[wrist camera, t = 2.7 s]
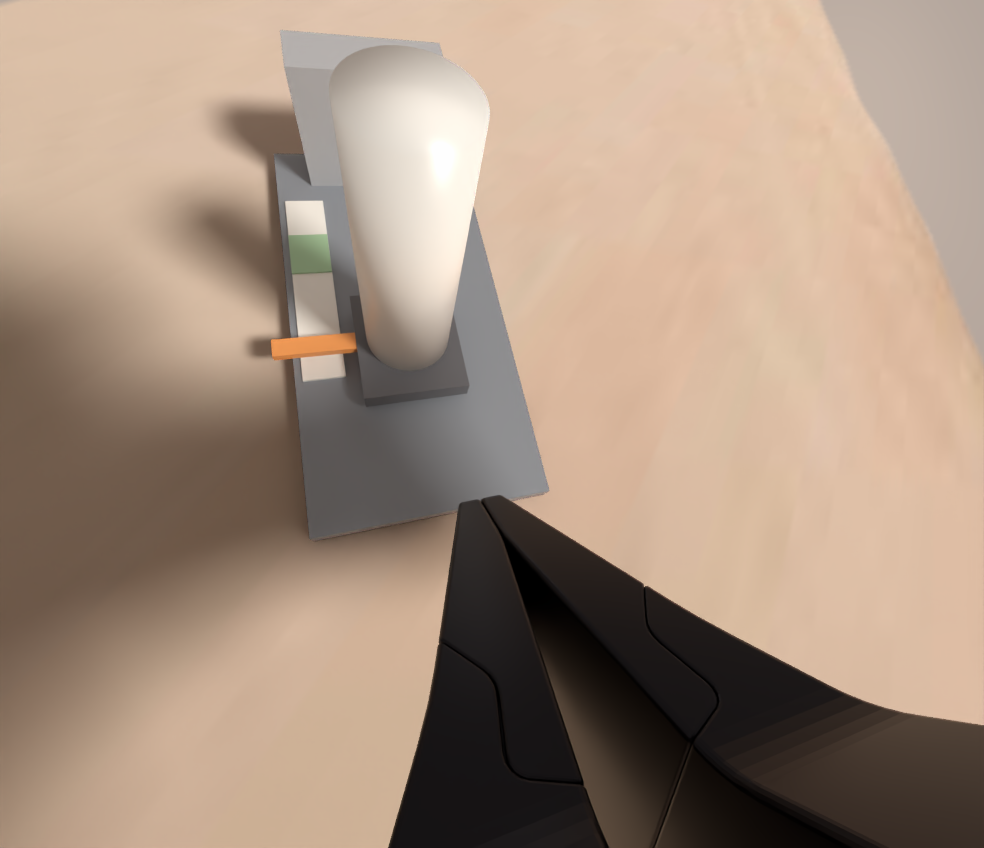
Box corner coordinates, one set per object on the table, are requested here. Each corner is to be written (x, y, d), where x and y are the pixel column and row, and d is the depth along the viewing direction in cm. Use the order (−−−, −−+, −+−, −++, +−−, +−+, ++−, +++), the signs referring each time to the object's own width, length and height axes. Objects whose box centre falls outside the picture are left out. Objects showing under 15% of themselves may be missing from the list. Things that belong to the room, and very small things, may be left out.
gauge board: (543, 494, 18) (603, 456, 12) (314, 541, 15) (266, 520, 10) (458, 169, 23) (474, 46, 18) (278, 168, 21) (234, 26, 15)
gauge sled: (467, 393, 17) (535, 191, 8) (282, 418, 16) (116, 195, 7) (446, 301, 19) (485, 40, 10) (273, 313, 17) (125, 9, 8)
